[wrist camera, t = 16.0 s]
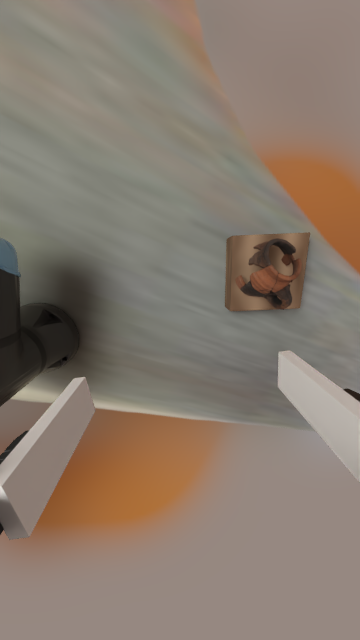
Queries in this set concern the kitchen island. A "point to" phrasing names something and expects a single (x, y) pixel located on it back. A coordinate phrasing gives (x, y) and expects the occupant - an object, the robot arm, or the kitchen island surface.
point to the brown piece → (271, 275)
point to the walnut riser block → (237, 264)
